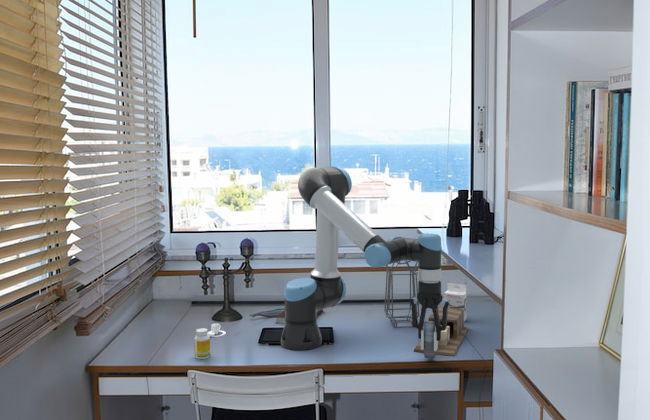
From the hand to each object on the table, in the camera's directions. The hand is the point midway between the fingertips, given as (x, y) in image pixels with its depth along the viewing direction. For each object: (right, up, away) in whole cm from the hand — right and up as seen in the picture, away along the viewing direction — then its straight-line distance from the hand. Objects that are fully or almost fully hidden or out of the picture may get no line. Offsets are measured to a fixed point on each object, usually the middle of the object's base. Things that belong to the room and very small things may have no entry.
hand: (429, 348), depth 203 cm
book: (-46, 0, +54) cm, 71 cm away
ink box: (+19, +1, +47) cm, 50 cm away
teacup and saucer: (-81, -3, +34) cm, 88 cm away
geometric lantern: (-4, 0, +42) cm, 42 cm away
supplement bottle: (-78, -5, +8) cm, 78 cm away
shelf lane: (+9, -2, +22) cm, 23 cm away
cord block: (+4, -2, +9) cm, 10 cm away
